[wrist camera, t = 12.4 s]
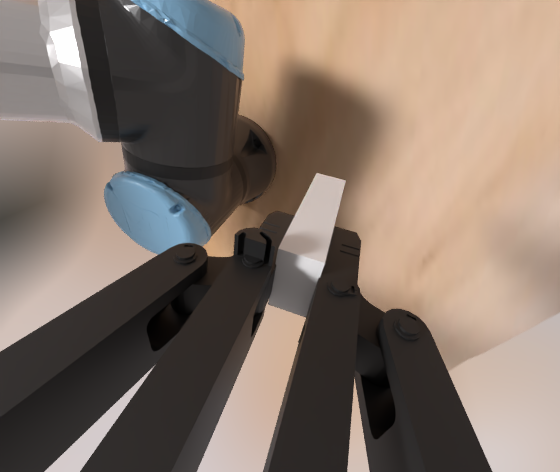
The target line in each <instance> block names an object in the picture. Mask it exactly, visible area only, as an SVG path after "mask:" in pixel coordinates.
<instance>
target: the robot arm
mask: <svg viewBox="0 0 560 472" xmlns="http://www.w3.org/2000/svg"><path fill="white" fill-rule="evenodd" d="M244 44H245V37H244V31H243V28H242V26H241V24H240V22H239V20H238V19H237V18H236V17H235V16H234V15H233V14H232V13H230V12H229V11H227V10H226V9H224V8H222V7H220V6H218V5H216V4H214V3H212V2H210V1H208V0H0V120H21V121H46V122H69V123H72V124H74V125H76V126H78V127H80V128H81V129H82V130H84V131H85V132H86V133H88V134H89V135H91V136H92V137H93V138H94V139H96V140H97V141H99V142H121V144H122V151H123V158H124V164H125V170H124V171H122V172H119V173H117V174H115V175H114V176H113V177H112V179H111V181H110V182H108V183H107V184H106V187H105V189H104V199H105V203H106V206H107V208H108V211H109V212H110V215H111V216H112V218H113V219H114V221H115V222H116V224H117V225H118V226H119V227H120V228H121V229H122V231H124V233H126V234H127V235H128V236H129V237H130V238H131V239H132V240H134V241H135V242H136V243H138V244H139V245H140V246H142V247H144V248H145V249H147V250H149V251H151V252H153V253H156V254H158V255H157V256H156V257H154V258H152V259H151V260H149V261H148V262H146V263H144V264H143V265H141V266H139V267H138V268H136V269H135V270H133V271H131V272H130V273H128V274H126V275H125V276H123V277H121V278H120V279H118V280H117V281H115V282H113V283H112V284H110V285H108V286H107V287H105V288H104V289H102V290H100V291H99V292H97V293H95V294H94V295H92V296H90V297H89V298H87V299H86V300H84V301H82V302H81V303H79V304H78V305H76V306H74V307H73V308H71V309H69V310H68V311H66V312H65V313H63V314H61V315H60V316H58V317H56V318H55V319H53V320H51V321H50V322H48V323H47V324H45V325H43V326H42V327H40V328H38V329H37V330H35V331H33V332H32V333H30V334H29V335H27V336H26V337H24V338H22V339H20V340H19V341H17V342H16V343H14V344H12V345H11V346H9V347H7V348H6V349H4V350H3V351H1V352H0V472H44V471H45V470H46V469H47V468H48V467H49V466H50V465H52V464H53V463H54V462H55V461H56V460H57V459H58V458H59V457H60V456H61V455H62V454H63V453H64V452H65V451H66V450H67V449H68V448H69V447H70V446H71V445H72V444H73V443H74V442H75V441H76V440H78V439H79V438H80V436H82V435H83V434H84V433H85V432H86V431H87V430H88V429H89V428H90V427H91V426H92V425H93V424H94V423H95V422H96V421H97V420H98V419H99V418H100V417H101V416H102V415H103V414H104V413H106V411H108V410H109V409H110V407H112V406H113V405H114V404H115V403H116V402H117V401H118V400H119V399H120V398H121V397H122V396H123V395H124V394H125V393H126V392H127V391H128V390H129V389H131V388H132V387H133V386H134V385H135V384H136V383H137V382H138V381H139V380H140V379H141V378H142V377H143V376H144V375H145V374H146V373H147V372H148V371H149V370H150V369H151V368H152V367H153V366H154V365H155V364H156V363H157V364H156V365H155V366H154V368H153V369H152V371H151V372H150V374H149V375H148V376H147V378H146V379H145V381H144V382H143V384H142V385H141V386H140V388H139V389H138V391H137V392H136V393H135V395H134V396H133V398H132V399H131V400H130V402H129V403H128V405H127V406H126V408H125V409H124V410H123V412H122V413H121V414H120V416H119V417H118V419H117V420H116V422H115V423H114V424H113V426H112V427H111V429H110V430H109V432H108V433H107V434H106V436H105V437H104V439H103V440H102V441H101V443H100V444H99V446H98V447H97V449H96V450H95V451H94V453H93V454H92V455H91V457H90V458H89V460H88V461H87V463H86V464H85V465H84V467H83V468H82V470H81V471H80V472H197V470H198V467H199V465H200V463H201V460H202V458H203V456H204V453H205V451H206V449H207V446H208V444H209V442H210V439H211V437H212V435H213V432H214V430H215V428H216V425H217V423H218V421H219V418H220V416H221V414H222V412H223V409H224V407H225V405H226V402H227V400H228V398H229V395H230V393H231V390H232V388H233V386H234V383H235V381H236V379H237V376H238V374H239V372H240V370H241V367H242V365H243V363H244V360H245V358H246V356H247V353H248V351H249V349H250V346H251V344H252V342H253V340H254V337H255V335H256V332H257V330H258V328H259V326H260V323H261V321H262V319H263V316H264V310H265V306H266V304H267V302H268V300H269V302H268V304H269V305H271V306H274V307H277V308H280V309H283V310H286V311H289V312H292V313H295V314H298V315H300V316H304V317H306V321H305V323H304V326H303V329H302V333H301V336H300V339H299V341H298V342H299V344H298V347H297V351H296V355H295V358H294V362H293V366H292V369H291V373H290V376H289V380H288V383H287V387H286V391H285V394H284V398H283V402H282V405H281V409H280V412H279V416H278V420H277V423H276V427H275V430H274V434H273V438H272V442H271V445H270V449H269V452H268V456H267V459H266V463H265V467H264V470H263V472H347V466H348V453H349V440H350V427H351V414H352V401H353V387H354V377H355V383H356V389H357V395H358V401H359V408H360V414H361V419H362V426H363V433H364V439H365V444H366V451H367V457H368V464H369V470H370V472H492V470H491V468H490V466H489V464H488V461H487V459H486V457H485V455H484V452H483V450H482V448H481V446H480V443H479V441H478V439H477V436H476V434H475V432H474V429H473V427H472V425H471V423H470V421H469V418H468V416H467V414H466V412H465V409H464V407H463V405H462V402H461V400H460V398H459V396H458V393H457V391H456V389H455V387H454V385H453V382H452V380H451V378H450V375H449V373H448V371H447V369H446V366H445V364H444V362H443V360H442V357H441V355H440V353H439V350H438V348H437V346H436V344H435V341H434V339H433V337H432V335H431V332H430V331H429V329H428V328H427V326H426V324H425V323H424V322H423V321H422V320H421V319H420V318H418V317H417V316H416V315H414V314H412V313H410V312H409V311H405V310H402V309H391V310H389V311H387V312H386V313H385V312H383V311H381V310H380V309H378V308H376V307H375V306H373V305H372V304H370V303H369V302H368V301H367V300H366V299H365V298H364V297H363V296H362V295H361V293H360V289H359V287H358V285H357V280H358V269H359V257H360V247H361V240H360V238H359V236H358V234H357V233H355V232H352V231H348V230H345V229H341V228H338V227H334V225H335V221H336V217H337V213H338V209H339V206H340V202H341V198H342V194H343V190H344V186H345V182H346V180H342V179H338V178H335V177H331V176H327V175H323V174H319V173H316V175H315V177H314V179H313V181H312V183H311V185H310V187H309V189H308V191H307V193H306V195H305V197H304V199H303V201H302V203H301V205H300V207H299V209H298V210H297V212H296V214H295V216H293V215H289V214H286V213H282V212H279V211H275V212H273V213H271V214H269V215H268V216H267V218H266V219H265V221H264V223H263V224H262V225H261V226H260V229H258V228H246V229H243V230H240V231H239V232H237V233H236V234H235V242H234V255H233V256H231V257H211V256H208V255H207V252H206V250H205V249H204V248H203V247H202V246H203V245H204V244H206V243H207V242H208V241H209V240H210V238H211V236H212V235H213V234H214V233H215V232H216V231H217V230H218V228H219V227H220V226H221V225H222V224H223V223H224V222H225V221H226V219H227V218H228V217H229V216H230V215H231V214H232V213H233V212H234V210H235V209H236V208H237V207H238V206H239V205H242V204H244V203H248V202H251V201H254V200H256V199H257V198H259V197H260V196H261V195H262V194H263V193H264V192H265V191H266V190H267V189H268V187H269V186H270V185H271V183H272V181H273V179H274V176H275V171H276V157H275V153H274V149H273V146H272V144H271V142H270V140H269V138H268V137H267V135H266V134H265V133H264V131H263V130H262V129H261V128H260V127H259V126H258V125H257V124H256V123H254V122H253V121H251V120H250V119H248V118H246V117H244V116H241V115H238V111H239V103H240V95H241V87H242V80H244V74H243V58H244Z"/></svg>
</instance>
